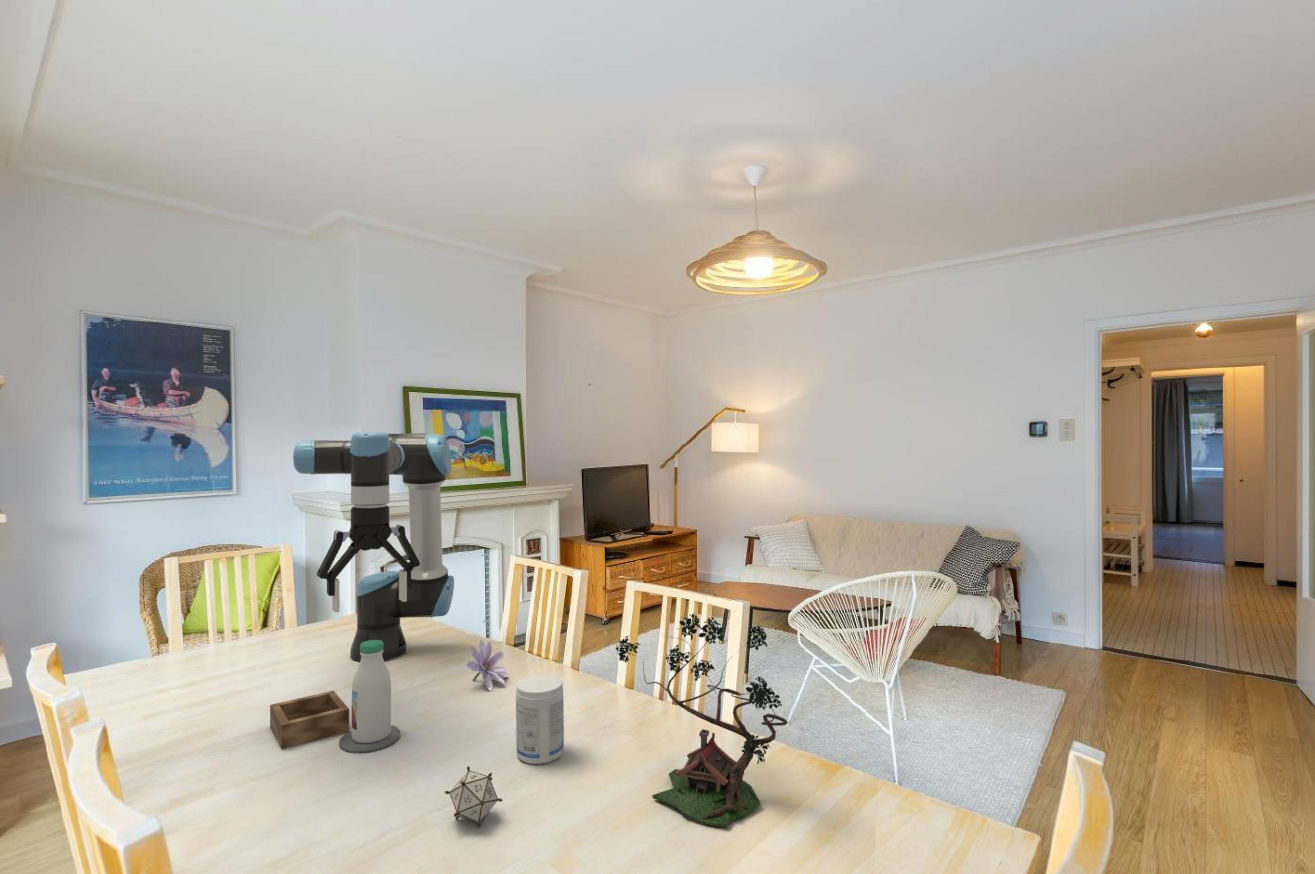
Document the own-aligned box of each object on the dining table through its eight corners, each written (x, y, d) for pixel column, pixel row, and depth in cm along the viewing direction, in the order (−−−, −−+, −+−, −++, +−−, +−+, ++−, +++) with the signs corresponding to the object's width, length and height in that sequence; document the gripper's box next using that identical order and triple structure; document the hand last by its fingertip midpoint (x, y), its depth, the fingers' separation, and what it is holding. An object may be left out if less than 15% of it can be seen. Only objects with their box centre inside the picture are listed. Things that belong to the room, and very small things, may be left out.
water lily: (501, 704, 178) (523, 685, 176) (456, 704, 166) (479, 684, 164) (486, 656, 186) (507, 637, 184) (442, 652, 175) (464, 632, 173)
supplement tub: (555, 739, 144) (556, 671, 143) (570, 759, 135) (570, 686, 135) (510, 748, 139) (510, 678, 139) (522, 770, 131) (522, 695, 131)
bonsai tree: (797, 769, 132) (799, 608, 131) (777, 841, 109) (779, 646, 108) (631, 740, 144) (632, 592, 143) (581, 800, 121) (582, 624, 120)
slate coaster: (390, 721, 152) (390, 719, 152) (408, 741, 142) (408, 738, 142) (332, 737, 144) (332, 734, 144) (347, 758, 135) (347, 755, 135)
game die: (465, 837, 116) (453, 775, 121) (512, 817, 116) (499, 757, 121) (445, 839, 108) (433, 773, 113) (495, 818, 108) (482, 754, 113)
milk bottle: (397, 728, 147) (398, 637, 146) (379, 745, 139) (379, 649, 139) (363, 726, 148) (364, 636, 147) (343, 743, 140) (344, 647, 140)
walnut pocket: (333, 711, 157) (333, 690, 157) (349, 731, 147) (349, 708, 147) (270, 727, 148) (270, 704, 148) (281, 749, 138) (281, 725, 138)
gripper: (422, 499, 153) (422, 592, 154) (300, 507, 137) (301, 611, 138) (435, 503, 147) (434, 599, 148) (309, 511, 132) (309, 619, 132)
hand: (370, 605), depth 143 cm, fingers open, 13 cm apart
